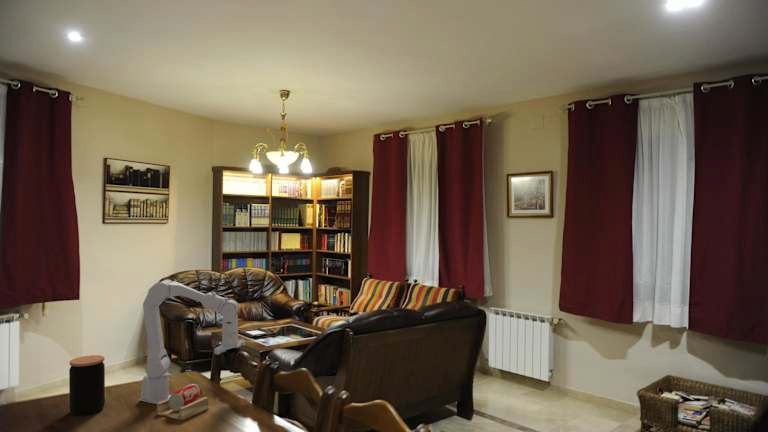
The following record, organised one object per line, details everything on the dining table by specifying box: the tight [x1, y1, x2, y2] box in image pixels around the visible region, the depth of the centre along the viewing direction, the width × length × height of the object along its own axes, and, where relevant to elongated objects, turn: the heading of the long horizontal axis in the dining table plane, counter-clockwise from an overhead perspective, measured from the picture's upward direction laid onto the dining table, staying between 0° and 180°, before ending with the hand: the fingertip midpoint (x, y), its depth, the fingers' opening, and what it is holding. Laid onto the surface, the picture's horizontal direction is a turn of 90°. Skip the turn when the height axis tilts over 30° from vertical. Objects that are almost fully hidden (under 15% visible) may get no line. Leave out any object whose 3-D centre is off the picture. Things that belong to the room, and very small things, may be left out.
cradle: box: [156, 396, 209, 421], centre depth 177 cm, size 12×12×4 cm
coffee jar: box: [68, 354, 106, 417], centre depth 178 cm, size 11×11×18 cm
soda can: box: [168, 383, 203, 411], centre depth 179 cm, size 7×7×12 cm
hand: (230, 368), depth 191 cm, fingers closed
